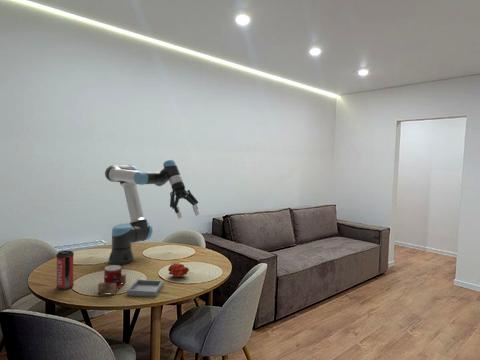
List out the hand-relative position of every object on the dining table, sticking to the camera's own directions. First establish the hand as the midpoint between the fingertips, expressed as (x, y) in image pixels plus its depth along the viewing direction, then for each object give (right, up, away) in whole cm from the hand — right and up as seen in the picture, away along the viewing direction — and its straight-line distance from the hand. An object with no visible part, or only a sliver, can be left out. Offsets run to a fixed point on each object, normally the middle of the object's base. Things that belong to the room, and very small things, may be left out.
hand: (189, 216), depth 179 cm
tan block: (-35, -34, -23) cm, 54 cm away
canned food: (-35, -34, -22) cm, 54 cm away
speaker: (-59, -33, -23) cm, 72 cm away
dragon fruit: (-6, -34, -3) cm, 35 cm away
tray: (-18, -34, -23) cm, 45 cm away
